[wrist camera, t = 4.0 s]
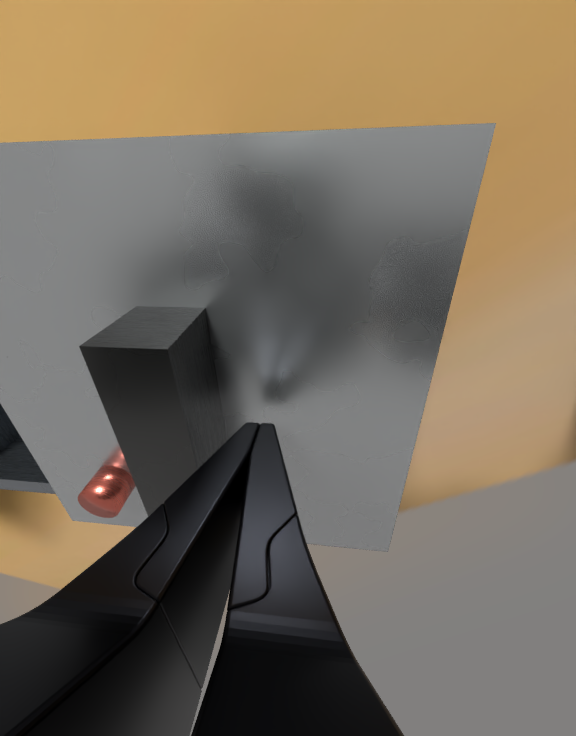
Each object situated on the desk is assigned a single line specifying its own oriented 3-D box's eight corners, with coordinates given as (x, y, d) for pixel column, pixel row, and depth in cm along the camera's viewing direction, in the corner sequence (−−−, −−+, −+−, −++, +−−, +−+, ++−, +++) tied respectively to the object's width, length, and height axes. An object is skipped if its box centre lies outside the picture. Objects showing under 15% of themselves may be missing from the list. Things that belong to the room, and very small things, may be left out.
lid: (479, 127, 7) (579, 99, 4) (385, 533, 14) (398, 618, 12) (-117, 151, 8) (-333, 140, 6) (83, 505, 16) (32, 574, 13)
